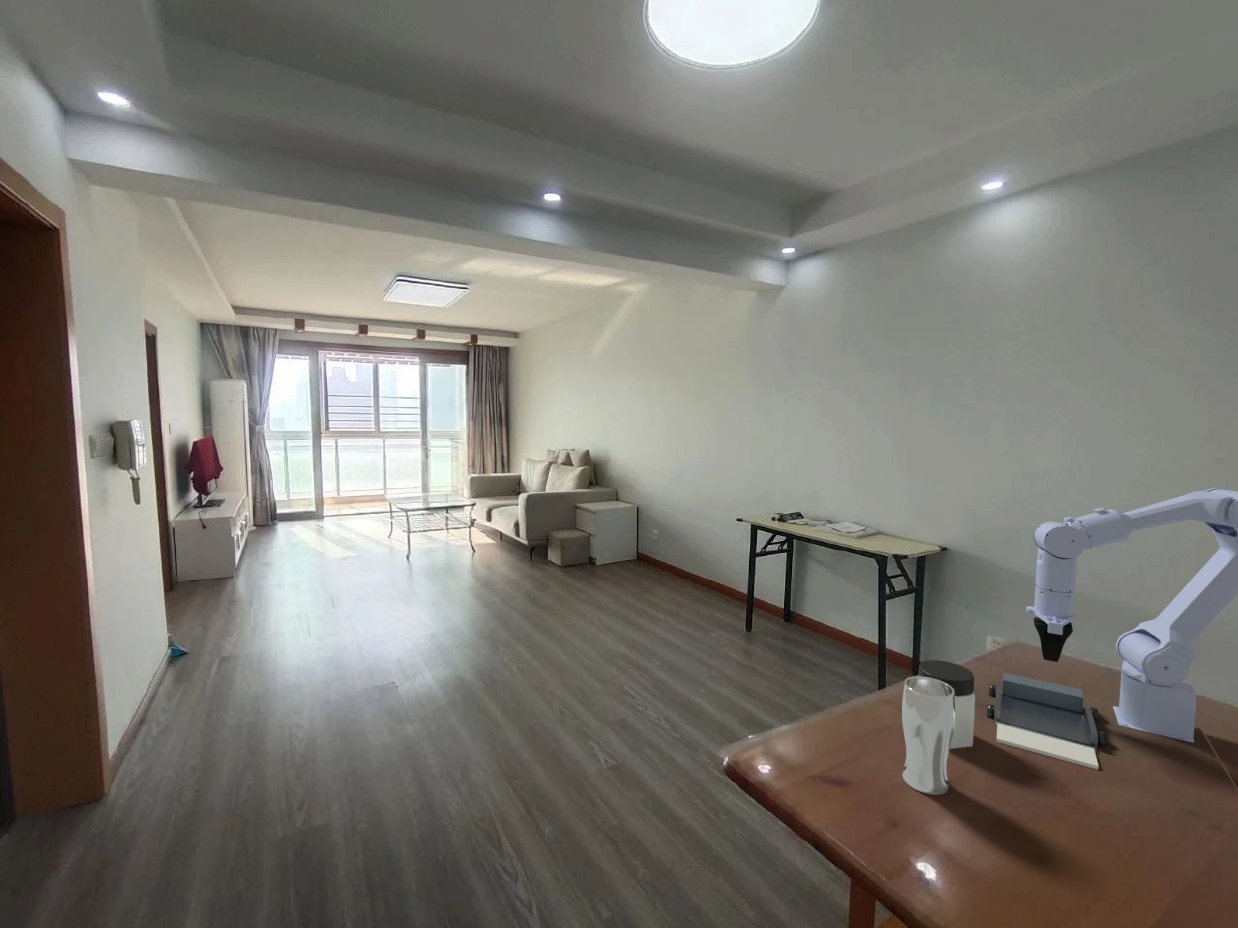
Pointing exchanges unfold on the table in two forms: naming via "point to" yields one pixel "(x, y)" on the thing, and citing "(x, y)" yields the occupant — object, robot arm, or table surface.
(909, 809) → the table surface
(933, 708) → the beer glass
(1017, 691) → the grey piece
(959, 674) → the jar
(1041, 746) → the panel
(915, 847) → the table surface
